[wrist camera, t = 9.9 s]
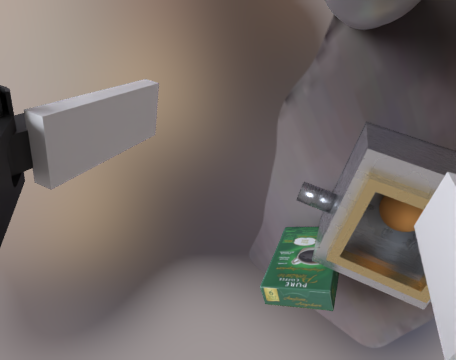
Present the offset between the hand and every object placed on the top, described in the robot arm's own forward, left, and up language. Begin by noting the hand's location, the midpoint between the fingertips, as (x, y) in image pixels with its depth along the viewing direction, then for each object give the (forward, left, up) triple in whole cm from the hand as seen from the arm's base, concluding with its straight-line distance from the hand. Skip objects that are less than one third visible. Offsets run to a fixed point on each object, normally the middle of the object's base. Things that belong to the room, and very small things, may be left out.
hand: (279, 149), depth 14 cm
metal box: (+10, +10, -26) cm, 30 cm away
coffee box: (+21, +6, -26) cm, 34 cm away
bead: (+10, +12, -25) cm, 29 cm away
